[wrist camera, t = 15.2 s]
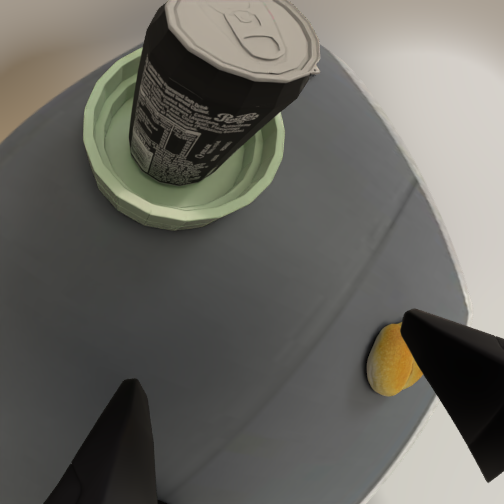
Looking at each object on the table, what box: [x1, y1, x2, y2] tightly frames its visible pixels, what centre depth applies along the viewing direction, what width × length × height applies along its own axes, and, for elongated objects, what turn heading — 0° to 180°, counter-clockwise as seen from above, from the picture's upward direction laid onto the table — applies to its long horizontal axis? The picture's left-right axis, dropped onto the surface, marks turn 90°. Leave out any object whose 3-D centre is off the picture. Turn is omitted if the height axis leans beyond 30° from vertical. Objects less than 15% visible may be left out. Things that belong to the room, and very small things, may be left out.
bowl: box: [83, 48, 285, 231], centre depth 17 cm, size 12×12×4 cm
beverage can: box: [129, 0, 320, 187], centre depth 13 cm, size 7×7×12 cm
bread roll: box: [367, 322, 423, 396], centre depth 25 cm, size 8×9×4 cm
